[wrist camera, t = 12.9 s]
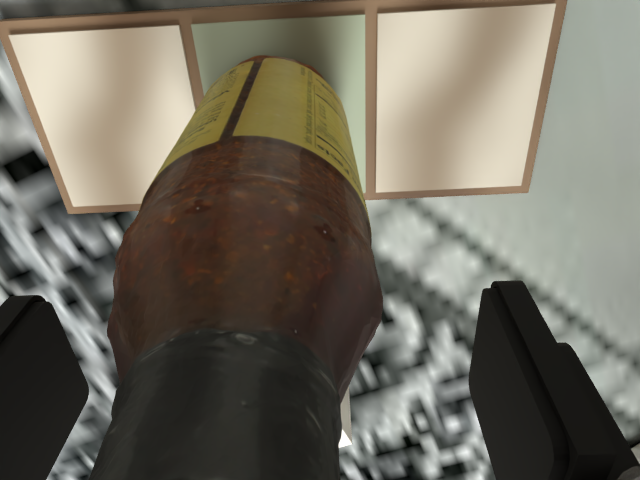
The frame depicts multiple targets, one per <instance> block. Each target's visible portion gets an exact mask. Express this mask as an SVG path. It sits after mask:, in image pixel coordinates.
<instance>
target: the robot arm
mask: <svg viewBox="0 0 640 480" xmlns="http://www.w3.org/2000/svg"><path fill="white" fill-rule="evenodd" d="M469 389H470V394H471V397H472V401H473V404H474V407H475V411H476V414H477V417H478V420H479V424H480V427H481V430H482V434H483V437H484V440H485V444H486V447H487V450H488V454H489V457H490V460H491V464H492V467H493V470H494V474H495V477H496V480H640V443H639V444H638V445H636V446H634V447H633V448H630V446H629V445H628V443H627V441H626V439H625V438H624V436H623V434H622V432H621V431H620V429H619V427H618V426H617V424H616V422H615V420H614V419H613V417H612V415H611V413H610V412H609V410H608V408H607V407H606V405H605V403H604V401H603V400H602V398H601V396H600V394H599V393H598V391H597V389H596V388H595V386H594V384H593V382H592V381H591V379H590V377H589V375H588V374H587V372H586V370H585V368H584V367H583V365H582V363H581V362H580V360H579V358H578V356H577V355H576V353H575V351H574V350H573V349H572V347H571V346H570V345H569V344H567V343H557V342H556V340H555V338H554V337H553V335H552V333H551V331H550V329H549V328H548V326H547V324H546V322H545V320H544V318H543V317H542V315H541V313H540V311H539V309H538V307H537V306H536V304H535V302H534V300H533V298H532V296H531V295H530V293H529V291H528V289H527V287H526V285H525V284H524V283H523V281H494V282H493V283H492V284H491V288H485V289H483V291H482V296H481V302H480V308H479V315H478V321H477V327H476V334H475V340H474V347H473V353H472V359H471V366H470V372H469ZM88 395H89V387H88V383H87V381H86V379H85V377H84V375H83V372H82V370H81V368H80V366H79V363H78V361H77V359H76V357H75V354H74V352H73V350H72V348H71V345H70V343H69V341H68V339H67V336H66V334H65V332H64V330H63V327H62V325H61V323H60V321H59V318H58V316H57V314H56V312H55V310H54V307H53V306H52V304H51V303H50V302H46V301H45V299H44V298H43V297H42V296H39V295H28V296H12V297H9V298H8V299H7V300H5V302H4V303H3V304H2V305H1V306H0V480H46V479H47V477H48V475H49V473H50V471H51V469H52V467H53V465H54V463H55V461H56V459H57V458H58V456H59V454H60V452H61V450H62V448H63V446H64V444H65V442H66V440H67V438H68V436H69V434H70V432H71V431H72V429H73V427H74V425H75V423H76V421H77V419H78V417H79V415H80V413H81V411H82V409H83V407H84V405H85V404H86V401H87V399H88Z"/></svg>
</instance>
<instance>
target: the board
mask: <svg viewBox="0 0 640 480" xmlns="http://www.w3.org/2000/svg"><path fill="white" fill-rule="evenodd" d="M566 4H567V0H318V1H301V2H284V3H267V4H250V5H233V6H216V7H199V8H182V9H165V10H148V11H131V12H114V13H97V14H80V15H63V16H46V17H29V18H12V19H2V20H0V39H1V42H2V44H3V47H4V49H5V52H6V54H7V57H8V60H9V62H10V65H11V67H12V70H13V72H14V75H15V78H16V80H17V83H18V85H19V88H20V90H21V93H22V96H23V98H24V101H25V103H26V106H27V108H28V111H29V114H30V116H31V119H32V121H33V124H34V127H35V129H36V132H37V134H38V137H39V139H40V142H41V145H42V147H43V150H44V152H45V155H46V157H47V160H48V163H49V165H50V168H51V170H52V173H53V175H54V178H55V181H56V183H57V186H58V188H59V191H60V193H61V196H62V199H63V201H64V204H65V206H66V209H67V211H68V214H77V213H99V212H120V211H139V209H140V206H141V203H142V200H143V197H144V195H145V193H146V191H147V190H148V188H149V186H150V185H151V183H152V181H153V180H154V178H155V176H156V175H157V173H158V171H159V170H160V168H161V166H162V165H163V163H164V161H165V160H166V158H167V156H168V155H169V153H170V152H171V150H172V149H173V147H174V146H175V144H176V142H177V141H178V139H179V137H180V136H181V134H182V132H183V131H184V129H185V127H186V126H187V124H188V123H189V121H190V119H191V118H192V116H193V114H194V112H195V111H196V109H197V107H198V106H199V104H200V103H201V101H202V99H203V98H204V96H205V94H206V92H207V91H208V89H209V88H210V86H211V85H212V84H213V83H214V82H215V81H216V80H217V79H218V78H219V77H220V76H222V75H223V74H224V73H226V72H227V71H229V70H230V69H232V68H233V67H235V66H236V65H238V64H239V63H241V62H242V61H245V60H247V59H249V58H252V57H254V56H259V55H268V56H278V57H285V58H289V59H295V60H297V61H299V62H301V63H304V64H306V65H310V66H312V67H313V68H314V69H315V70H317V71H318V72H319V73H320V74H321V75H322V77H323V78H324V80H325V81H326V82H327V83H328V84H329V85H330V86H331V88H332V89H333V90H334V91H335V93H336V94H337V96H338V97H339V98H340V100H341V102H342V105H343V108H344V111H345V114H346V118H347V123H348V127H349V132H350V137H351V141H352V146H353V151H354V155H355V160H356V164H357V169H358V173H359V178H360V183H361V187H362V191H363V195H364V199H365V200H379V199H401V198H423V197H444V196H466V195H487V194H509V193H528V191H529V187H530V182H531V177H532V172H533V167H534V162H535V157H536V152H537V147H538V142H539V137H540V132H541V127H542V122H543V118H544V113H545V108H546V103H547V98H548V93H549V88H550V83H551V78H552V73H553V68H554V63H555V58H556V54H557V49H558V44H559V39H560V34H561V29H562V24H563V19H564V14H565V9H566Z"/></svg>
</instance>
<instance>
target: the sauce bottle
mask: <svg viewBox="0 0 640 480" xmlns="http://www.w3.org/2000/svg"><path fill="white" fill-rule="evenodd" d="M115 262H116V270H115V274H114V278H113V287H114V299H113V307H112V312H111V315H110V317H109V321H108V327H107V336H108V338H109V340H110V343H111V346H112V349H113V353H114V357H115V362H116V367H117V371H118V376H119V380H120V385H119V387H118V389H117V390H116V394H115V399H114V402H113V406H112V412H111V415H112V421H111V424H110V426H109V428H108V431H107V433H106V435H105V437H104V440H103V442H102V445H101V448H100V450H99V453H98V456H97V459H96V462H95V464H94V467H93V470H92V473H91V475H90V478H89V480H340V467H339V442H340V439H341V435H342V421H341V406H340V405H341V403H342V400H343V398H344V396H345V393H346V391H347V389H348V386H349V384H350V382H351V379H352V377H353V375H354V372H355V370H356V368H357V366H358V363H359V361H360V359H361V357H362V355H363V353H364V351H365V350H366V348H367V346H368V345H369V343H370V341H371V340H372V338H373V337H374V335H375V332H376V329H377V327H378V325H379V324H380V322H381V316H382V309H383V296H382V291H381V287H380V283H379V279H378V275H377V270H376V266H375V261H374V255H373V252H372V249H371V227H370V222H369V216H368V212H367V208H366V204H365V199H364V195H363V191H362V187H361V183H360V178H359V173H358V169H357V164H356V160H355V155H354V151H353V146H352V141H351V137H350V132H349V127H348V123H347V118H346V114H345V111H344V108H343V105H342V102H341V100H340V98H339V97H338V96H337V94H336V93H335V91H334V90H333V89H332V88H331V86H330V85H329V84H328V83H327V82H326V81H325V80H324V78H323V77H322V75H321V74H320V73H319V72H318V71H317V70H315V69H314V68H313V67H312V66H310V65H306V64H304V63H301V62H299V61H297V60H295V59H289V58H285V57H278V56H268V55H259V56H254V57H252V58H249V59H247V60H245V61H242V62H241V63H239V64H238V65H236V66H235V67H233V68H232V69H230V70H229V71H227V72H226V73H224V74H223V75H222V76H220V77H219V78H218V79H217V80H216V81H215V82H214V83H213V84H212V85H211V86H210V88H209V89H208V91H207V92H206V94H205V96H204V98H203V99H202V101H201V103H200V104H199V106H198V107H197V109H196V111H195V112H194V114H193V116H192V118H191V119H190V121H189V123H188V124H187V126H186V127H185V129H184V131H183V132H182V134H181V136H180V137H179V139H178V141H177V142H176V144H175V146H174V147H173V149H172V150H171V152H170V153H169V155H168V156H167V158H166V160H165V161H164V163H163V165H162V166H161V168H160V170H159V171H158V173H157V175H156V176H155V178H154V180H153V181H152V183H151V185H150V186H149V188H148V190H147V191H146V193H145V195H144V197H143V200H142V203H141V206H140V209H139V213H138V215H137V217H136V218H135V220H134V222H133V223H132V224H131V225H130V227H129V228H128V229H127V230H126V232H125V234H124V235H123V241H122V244H121V246H120V247H119V249H118V252H117V255H116V257H115Z"/></svg>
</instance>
